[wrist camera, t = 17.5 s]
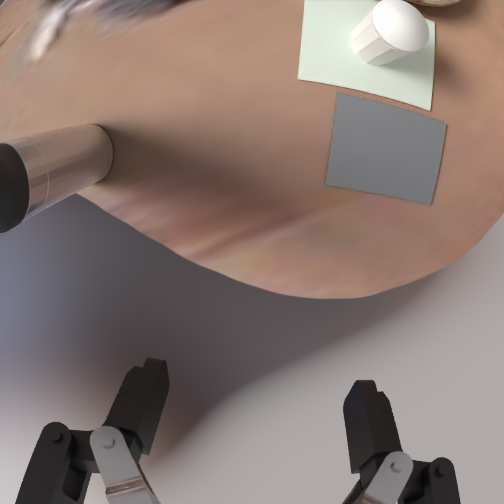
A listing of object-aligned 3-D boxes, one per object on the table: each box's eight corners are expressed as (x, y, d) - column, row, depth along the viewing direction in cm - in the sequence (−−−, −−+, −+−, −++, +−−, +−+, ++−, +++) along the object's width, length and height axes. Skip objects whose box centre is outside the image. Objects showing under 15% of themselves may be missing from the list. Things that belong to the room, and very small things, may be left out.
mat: (324, 184, 36) (325, 184, 36) (337, 93, 31) (337, 93, 30) (429, 204, 35) (430, 205, 35) (445, 123, 30) (446, 124, 30)
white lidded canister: (349, 59, 28) (372, 40, 19) (351, 19, 25) (373, -9, 17) (393, 70, 28) (428, 59, 19) (395, 31, 25) (428, 10, 16)
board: (297, 79, 31) (297, 79, 30) (305, -13, 24) (306, -14, 24) (428, 110, 30) (430, 110, 29) (433, 22, 23) (434, 22, 23)
